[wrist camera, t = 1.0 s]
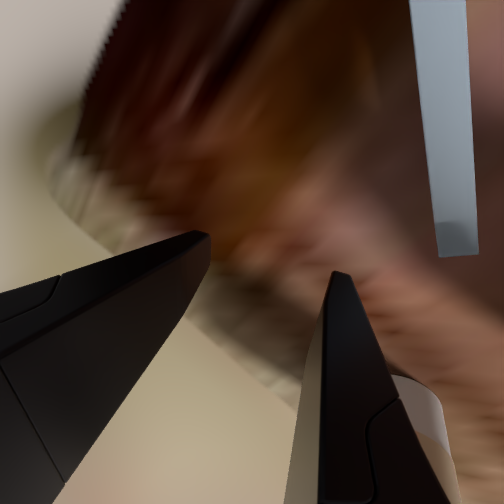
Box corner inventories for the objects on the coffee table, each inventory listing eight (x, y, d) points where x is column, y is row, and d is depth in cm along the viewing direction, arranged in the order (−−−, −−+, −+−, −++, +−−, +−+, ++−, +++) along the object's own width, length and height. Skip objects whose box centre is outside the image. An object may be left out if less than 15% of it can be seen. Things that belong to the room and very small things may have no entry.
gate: (398, -90, 12) (393, -151, 8) (437, -110, 12) (455, -189, 7) (430, 192, 17) (438, 257, 12) (459, 188, 16) (478, 254, 12)
